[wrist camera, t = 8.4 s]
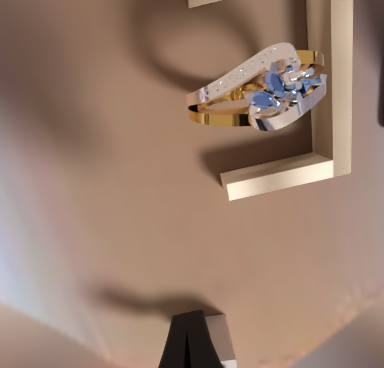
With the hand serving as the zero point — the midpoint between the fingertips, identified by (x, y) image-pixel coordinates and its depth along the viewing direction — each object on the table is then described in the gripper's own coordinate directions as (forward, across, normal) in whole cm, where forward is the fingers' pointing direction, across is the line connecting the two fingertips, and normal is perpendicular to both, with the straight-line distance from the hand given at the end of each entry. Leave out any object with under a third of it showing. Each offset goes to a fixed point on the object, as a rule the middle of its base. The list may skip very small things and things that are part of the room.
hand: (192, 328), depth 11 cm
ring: (+10, -6, -9) cm, 14 cm away
